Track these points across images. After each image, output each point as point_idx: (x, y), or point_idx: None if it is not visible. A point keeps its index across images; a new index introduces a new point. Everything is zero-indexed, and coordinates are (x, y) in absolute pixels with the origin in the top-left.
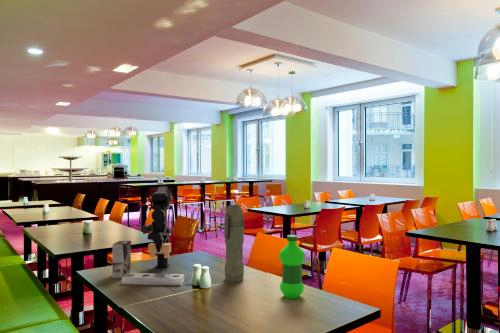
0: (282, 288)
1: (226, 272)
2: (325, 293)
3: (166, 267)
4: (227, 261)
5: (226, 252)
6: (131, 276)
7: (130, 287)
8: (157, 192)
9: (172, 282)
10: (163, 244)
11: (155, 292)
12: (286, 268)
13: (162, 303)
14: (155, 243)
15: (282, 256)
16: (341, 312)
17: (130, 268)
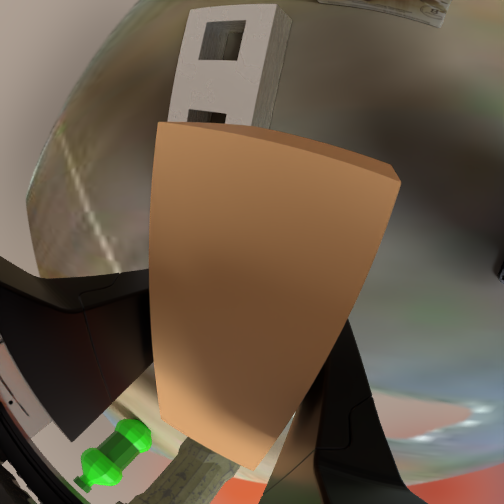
0: (121, 423)
1: None
2: (162, 454)
3: (499, 277)
4: (180, 459)
5: (168, 481)
6: (196, 52)
7: (161, 78)
8: None
9: None
10: (173, 392)
11: (114, 194)
12: (101, 445)
13: (69, 217)
14: (79, 290)
15: (85, 454)
16: (112, 419)
17: (429, 10)
